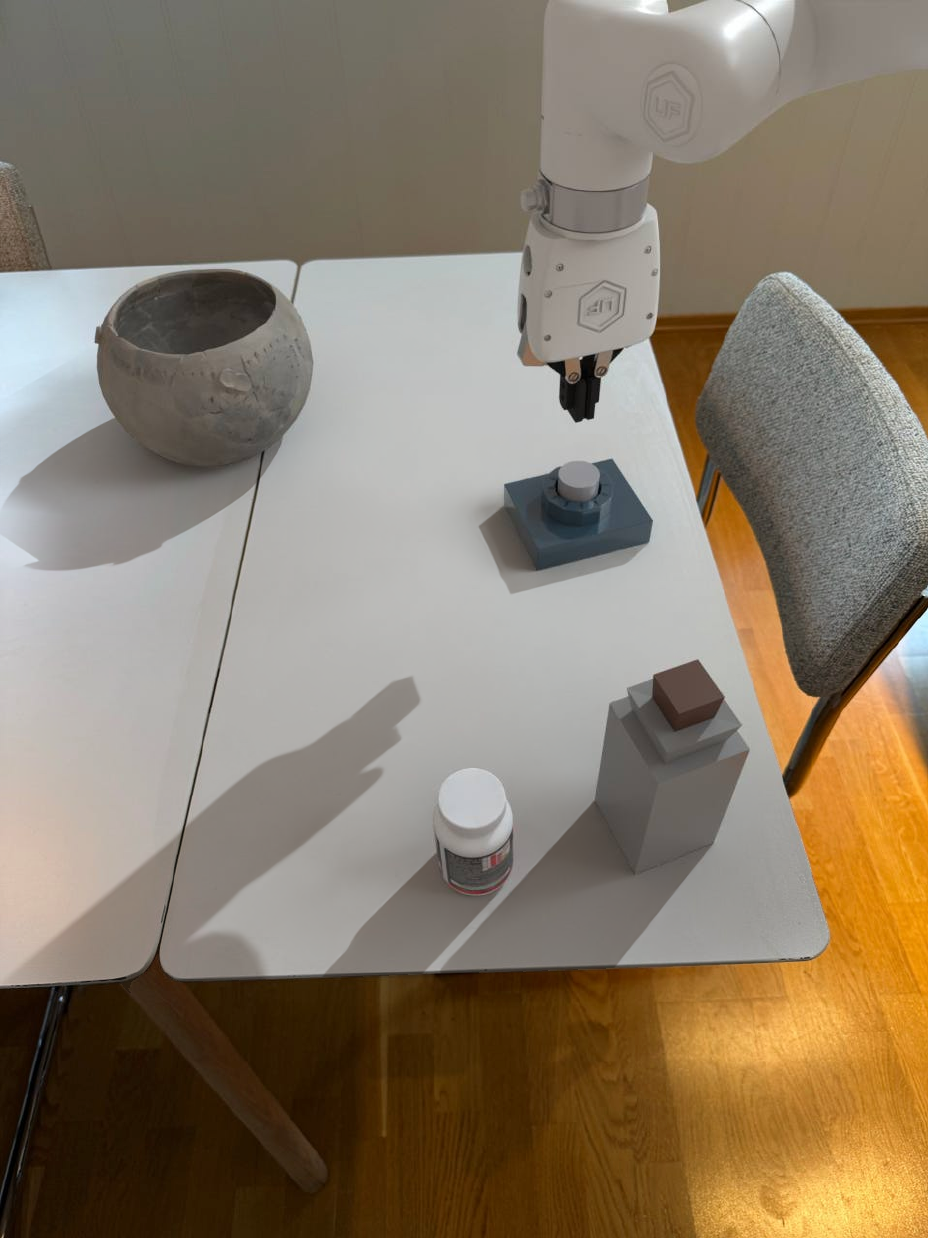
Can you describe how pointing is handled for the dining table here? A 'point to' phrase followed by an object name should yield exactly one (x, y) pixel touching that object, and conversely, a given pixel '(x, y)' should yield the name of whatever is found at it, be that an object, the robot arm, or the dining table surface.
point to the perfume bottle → (669, 765)
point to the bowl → (204, 365)
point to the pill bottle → (473, 832)
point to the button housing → (576, 517)
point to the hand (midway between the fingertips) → (578, 411)
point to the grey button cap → (578, 481)
